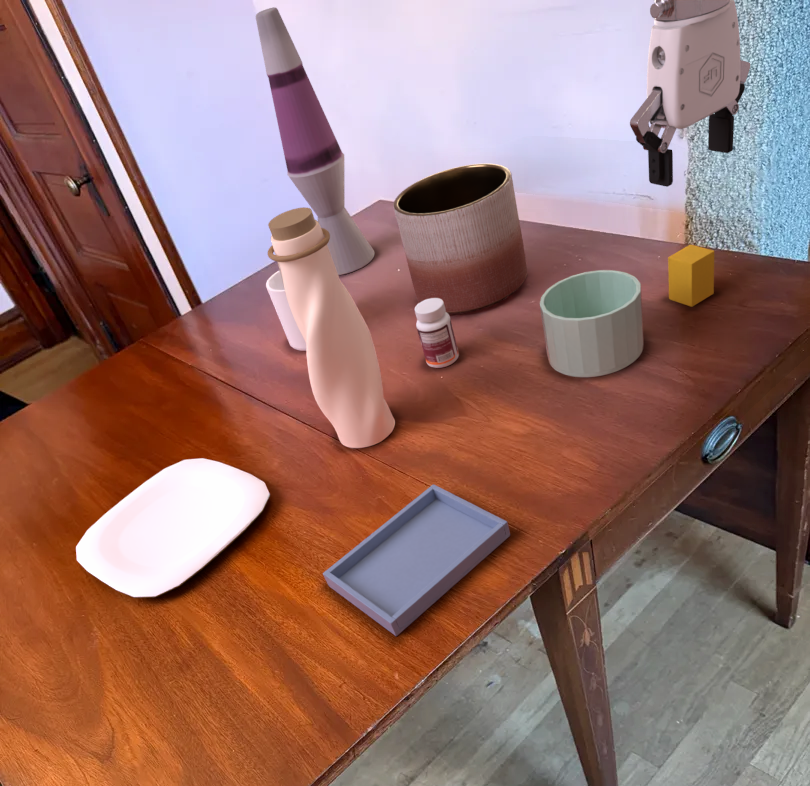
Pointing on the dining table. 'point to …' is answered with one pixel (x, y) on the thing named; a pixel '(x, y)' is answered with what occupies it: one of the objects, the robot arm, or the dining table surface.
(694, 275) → the yellow block
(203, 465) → the plate
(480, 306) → the planter
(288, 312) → the mug
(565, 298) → the mint faceted tub
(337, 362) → the water bottle
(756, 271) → the dining table surface
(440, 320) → the pill bottle
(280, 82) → the lamp
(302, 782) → the dining table surface
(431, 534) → the tray
